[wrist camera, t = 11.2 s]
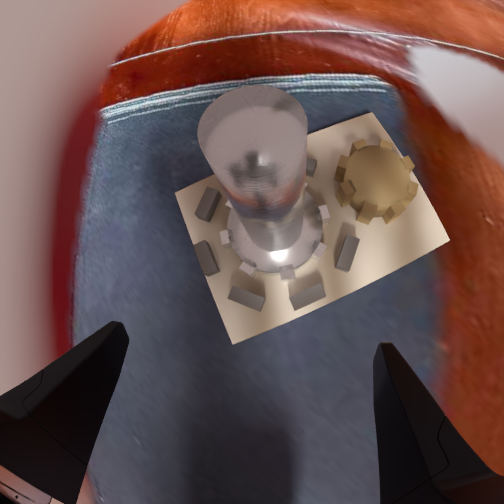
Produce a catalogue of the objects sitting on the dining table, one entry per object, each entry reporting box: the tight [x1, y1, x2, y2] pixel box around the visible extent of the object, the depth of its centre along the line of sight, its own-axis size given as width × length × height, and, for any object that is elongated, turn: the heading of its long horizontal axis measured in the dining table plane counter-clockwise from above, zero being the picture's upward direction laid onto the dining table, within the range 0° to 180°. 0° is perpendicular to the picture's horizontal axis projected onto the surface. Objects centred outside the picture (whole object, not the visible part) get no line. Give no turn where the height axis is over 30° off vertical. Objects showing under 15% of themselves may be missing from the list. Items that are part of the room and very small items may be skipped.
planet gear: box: [197, 85, 330, 283], centre depth 17 cm, size 8×8×14 cm
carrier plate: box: [175, 112, 449, 344], centre depth 23 cm, size 19×13×4 cm
